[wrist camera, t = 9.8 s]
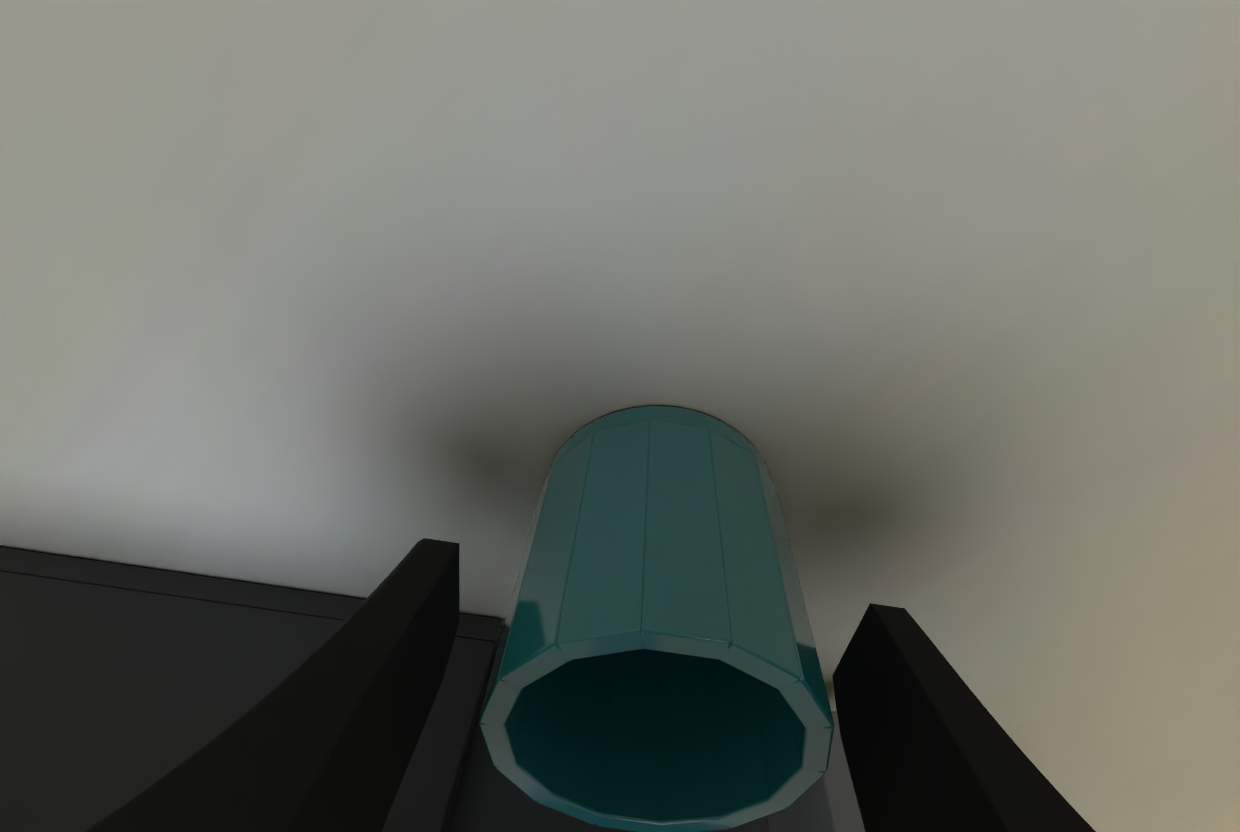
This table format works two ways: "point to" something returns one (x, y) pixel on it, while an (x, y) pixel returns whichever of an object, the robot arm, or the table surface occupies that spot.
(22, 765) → the dark grey storage box
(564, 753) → the container
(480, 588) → the table surface
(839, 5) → the table surface
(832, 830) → the drawer
